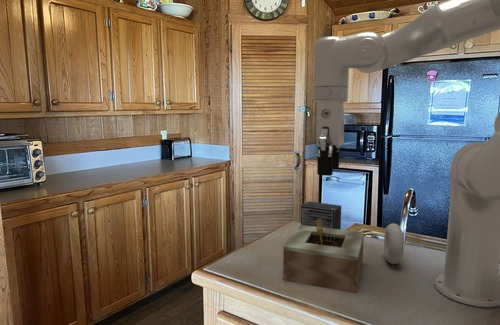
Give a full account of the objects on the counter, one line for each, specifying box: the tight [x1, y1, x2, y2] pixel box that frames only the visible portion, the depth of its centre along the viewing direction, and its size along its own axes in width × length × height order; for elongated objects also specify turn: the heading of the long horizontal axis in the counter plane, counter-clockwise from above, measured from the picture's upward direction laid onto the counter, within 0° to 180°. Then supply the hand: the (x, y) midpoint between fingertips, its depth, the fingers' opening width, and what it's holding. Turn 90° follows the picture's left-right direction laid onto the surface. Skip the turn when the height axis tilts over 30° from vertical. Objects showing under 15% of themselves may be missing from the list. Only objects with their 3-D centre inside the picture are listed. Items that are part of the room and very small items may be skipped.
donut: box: [383, 223, 405, 265], centre depth 90 cm, size 10×4×10 cm, turn 168°
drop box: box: [282, 224, 365, 294], centre depth 85 cm, size 16×16×8 cm
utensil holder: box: [316, 219, 338, 247], centre depth 84 cm, size 6×6×12 cm
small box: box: [300, 201, 342, 230], centre depth 106 cm, size 11×6×10 cm, turn 58°
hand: (328, 171), depth 82 cm, fingers open, 9 cm apart
